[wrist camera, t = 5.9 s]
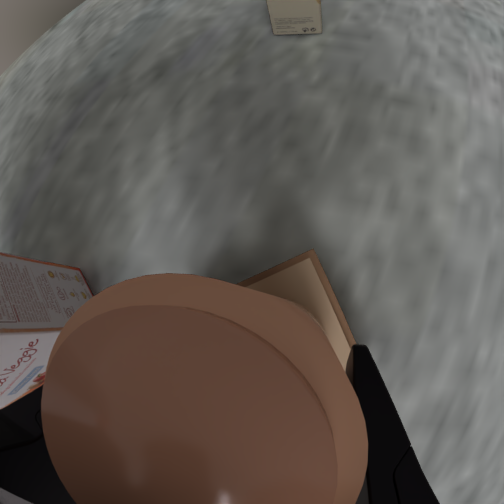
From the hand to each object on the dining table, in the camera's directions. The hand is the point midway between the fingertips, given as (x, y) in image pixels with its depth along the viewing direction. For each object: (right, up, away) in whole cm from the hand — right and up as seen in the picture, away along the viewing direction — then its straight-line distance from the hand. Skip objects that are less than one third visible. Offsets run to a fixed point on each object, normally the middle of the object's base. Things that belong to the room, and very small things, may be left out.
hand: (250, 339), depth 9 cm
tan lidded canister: (+1, -2, +7) cm, 7 cm away
